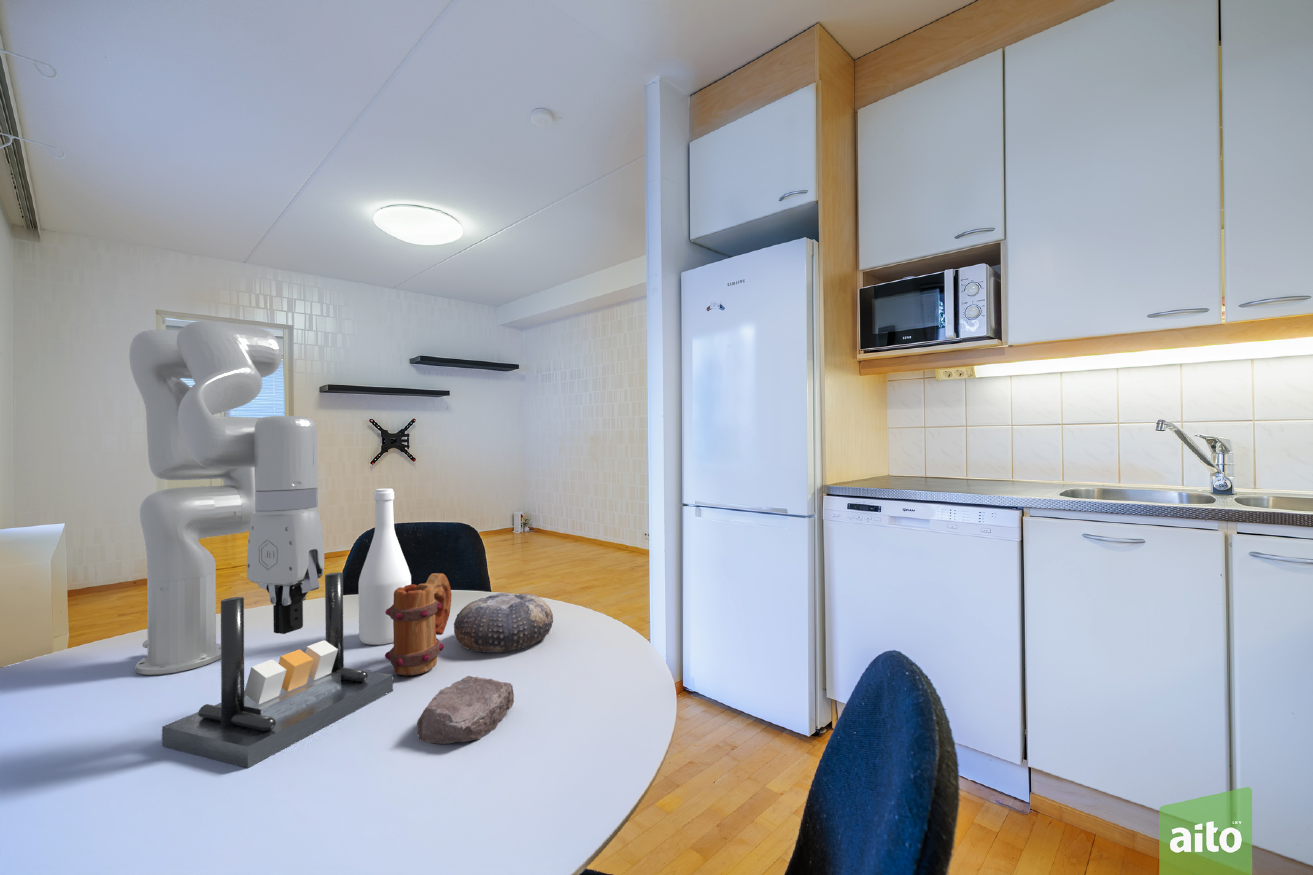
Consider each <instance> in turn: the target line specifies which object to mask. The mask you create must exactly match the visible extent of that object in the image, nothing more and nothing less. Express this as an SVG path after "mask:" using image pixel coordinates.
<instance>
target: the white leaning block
mask: <svg viewBox="0 0 1313 875" xmlns="http://www.w3.org/2000/svg"><path fill="white" fill-rule="evenodd" d="M337 651H338V649H337V648H335V647H334V646H332V645H331V644H329V643H328V642H326V639H324V640H321V641H318V642H315V643H312V644H310V645H307V646H306V650H305V652H304V653H306V654H307V655H308V656H310V657H311V658H313V663H312V666H311V669H310V673H309V676H308V677H310V678H311V679H312V680H316V679H319V678H321V677H323V676H325V675H328V674H330V673H331V671H332V668H333V665H334V661H335V658H336V655H337Z"/></svg>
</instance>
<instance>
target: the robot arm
mask: <svg viewBox="0 0 1313 875" xmlns="http://www.w3.org/2000/svg"><path fill="white" fill-rule="evenodd" d="M282 352H283V351H282V348H281V345H280V342H279V340H278V339H277V337H276V336H275V335H274V334H273V333H271V332H270V331H268V330H267V329H264V328H260V327H255V326H249V325H248V326H247V325H241V324H235V323H229V322H223V321H222V322H220V321H215V320H214V321H213V320H198V321H193V322H190V323H187V324H186V325H184V326H183V327H182V328H180V329H179V330H174V329H148V330H144V331H141V332H138V333H136V335H135V336H134V337H133V338H132V340H131V342H130V347H129V355H128V356H129V358H128V359H129V366H130V371H131V375H132V376H133V380H134V382H135V384H136V387H137V389H138V391H139V393H140V395H141V397H142V401H143V403H144V408H145V414H146V415H145V418H146V419H145V420H146V437H147V438H146V440H147V441H146V442H147V455H148V465H149V468H150V471H151V473H152V474H153V476H154V477H156V478H157V479H159V480H165V481H194V480H195V481H196V480H200V481H201V480H217V479H218V480H219V479H220V480H222V481H223V482H224V485H212V486H211V485H209V486H208V485H207V486H205V485H204V486H202V485H201V486H188V487H187V486H186V487H184V486H183V487H173V488H166V489H162V490H158V491H155V492H153V493H151V494H149V495H147V496H146V497H145V498H144V499H143V501H142V503H141V504H140V508H139V519H140V520H139V521H140V523H141V524H140V525H141V528H142V534H143V538H144V539H143V540H144V543H145V544H144V545H145V553H146V554H145V555H146V571H147V572H146V576H147V578H146V580H147V582H146V583H147V584H146V585H147V590H146V592H147V594H146V595H147V603H146V604H147V606H146V608H147V610H146V613H147V618H146V620H147V632H146V635H147V640H144V641H143V642H142V648H145V649H146V650H147V651H146V652H147V656H146V657H144V658H142V659H140V660H138V661H137V663H135V672H136V673H138V674H139V675H144V676H145V675H147V676H153V675H154V676H155V675H159V676H160V675H167V674H173V673H174V674H175V673H179V672H183V671H188V670H192V669H196V668H200V667H203V666H206V665H209V664H211V663H215V662H216V661H218V660H221V643H217V584H216V583H217V574H216V573H217V569H216V568H217V567H216V566H217V564H216V560H215V558H214V556H213V555H212V553H211V552H210V551H209V550H208V549H207V548H205V547H204V546H203V545H202V544H201V543H200V542H199V540H200V539H206V538H211V537H219V536H220V537H221V536H228V535H235V534H241V533H246V532H248V541H247V554H246V578H247V579H248V581H250V582H252V583H254V584H257V586H258V587H259V588H260V589H263V590H265V591H267V592H268V594H269V601H270V604H271V605H273V606H272V607H273V608H272V609H273V615H272V616H273V633H274V634H281V635H286V634H288V633H292V632H294V631H298V630H300V629H302V628H303V626H304V606H303V605H304V604H303V602H304V601H305V600H306V599H307V594H308V593H309V592H312V591H316V590H319V588H320V582H319V579H320V578H321V577H323V575H324V571H325V546H324V534H323V527H322V522H321V516H320V511H319V510H318V509H319V507H318V506H319V504H318V503H319V502H318V501H319V500H318V498H319V497H318V494H319V493H318V491H319V490H318V484H319V483H318V430H317V428H318V427H317V424H316V422H315V421H314V420H313V419H312V418H310V417H307V416H297V415H275V416H274V415H271V416H264V417H252V416H251V417H248V416H217V415H218V414H221V413H224V412H228V411H231V410H234V409H237V408H240V407H244V406H245V405H247V404H248V403H250V402H252V401H253V400H255V399H256V397H258V395H260V393H261V391H262V388H263V378H266V377H268V376H270V375H272V374H274V373H275V372H277V370H278V369H279V367H280V365H281V362H282V357H283V353H282ZM182 379H189V380H190V379H191V380H193V382H194V384H192V386H190V385H188V384H187V383H186V382H185V381H184V380H182Z"/></svg>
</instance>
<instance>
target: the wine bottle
mask: <svg viewBox="0 0 1313 875" xmlns="http://www.w3.org/2000/svg"><path fill="white" fill-rule="evenodd" d="M373 499H374V500H373V501H375V514H374V516H375V521H374V523H375V524H374V533H373V537H372V540H371V543H370V545H369V546H370V547H369V548H368V549H369V550H368V551H367V554H366V558H365V561H364V563H363V566H362V569H361V572H360V574H359V578H358V579H359V580H358V637H359V640H360V641H361V643H363V644H364V645H369V646H380V645H381V646H382V645H388V644H389V645H390V644H394V630H393V619H391V618H390V616H389V615H387V614H386V613H385V611H386V610H387V609H388V608H390V607H391V606H392V605H393V604H394V591H395V590H396V589H397V588H399V587H403V588H404V587H405V586H407V585H411V584H412V574H411V572H410V568H409V566H408V563H407V560H406V558H405V556H404V553H403V551H402V548H401V544H400V543H399V542H400V541H399V540H398V537H397V535H396V530H395V522H394V521H395V518H394V515H395V514H394V500H395V491H394V489H393V488H376V489H375V492H374V493H373Z"/></svg>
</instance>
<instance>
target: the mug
mask: <svg viewBox="0 0 1313 875" xmlns="http://www.w3.org/2000/svg"><path fill="white" fill-rule="evenodd" d="M452 595H453V594H452V589H451V585H450V582H449V580H448V578H447V576H446V575H445V574H444V573H439V572H437V573H436V572H435V573H431V574H430V575H429V576H428V578H427V580H426V582H424V583H419V584H418V585H417V584H415V583H413V584H412V583H411V585H407V586H405V587H404V588H403V587H399V588H397V589H396V590H395V591H394V604H393V605H392V606H391V607H390V608H388V609H387V610H386V611H385V613H386V614H387V615H389V616H390V618H391V619H393V630H394V642H393V647H392V648H391V649H390V650H388V651H387V652H386V653H385V654H384V658H385V659H386V660H388V661H389V662H390V664H391V665H392V666H393V672H394V673H395V674H396V675H400V676H409V677H411V676H416V675H417V676H418V675H420V674H424V673H427V672H429V671H430V670H432V669H433V668H434V667H435V666H436V665H437V663H438V656H439V655H440V653H441V652H442V651H443V650H444V648H445V644H444V643H443V642H441V641H440V640H439V638H437V636H441V635H443V634H444V632H445V629H446V627H447V623H448V620H449V617H450V613H451V607H452Z"/></svg>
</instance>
